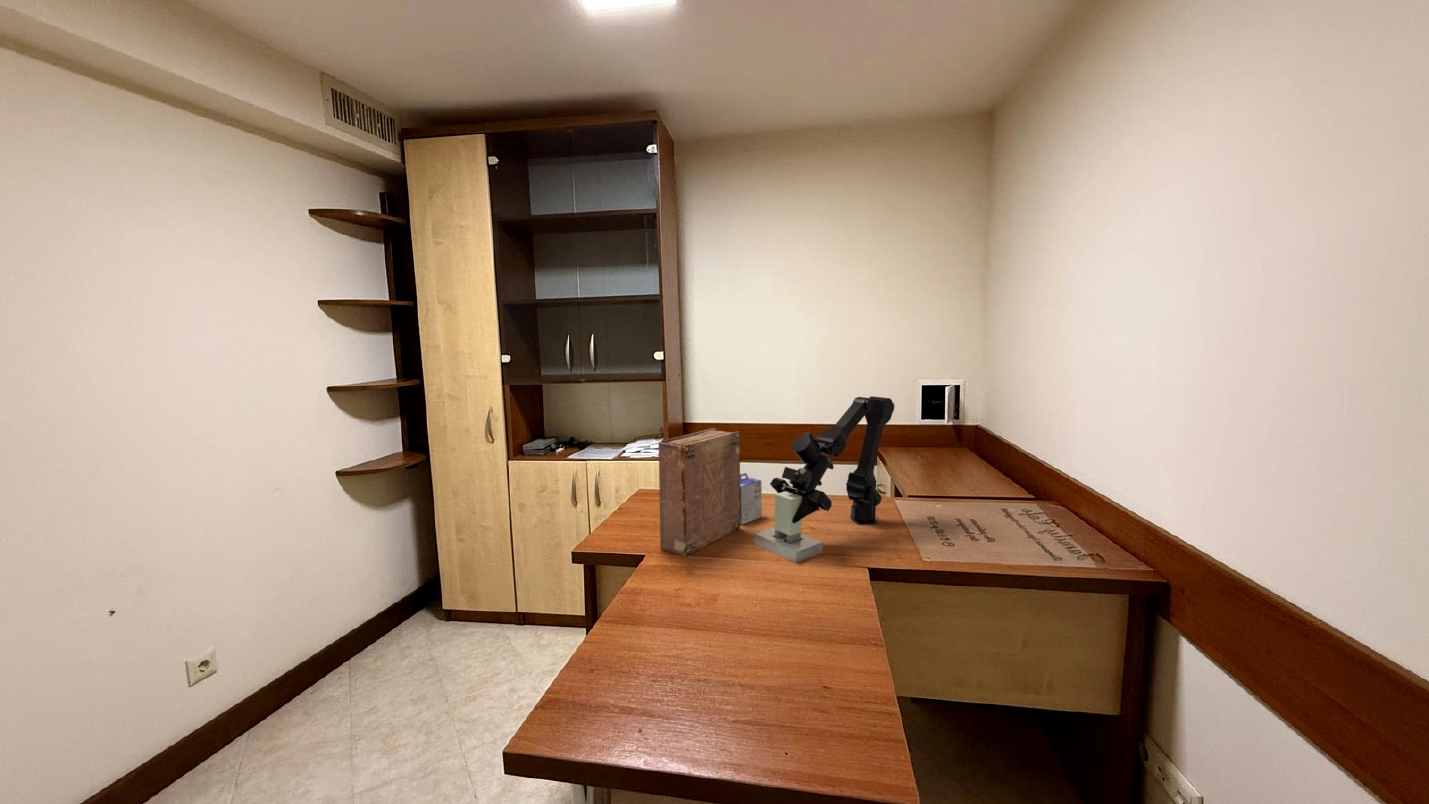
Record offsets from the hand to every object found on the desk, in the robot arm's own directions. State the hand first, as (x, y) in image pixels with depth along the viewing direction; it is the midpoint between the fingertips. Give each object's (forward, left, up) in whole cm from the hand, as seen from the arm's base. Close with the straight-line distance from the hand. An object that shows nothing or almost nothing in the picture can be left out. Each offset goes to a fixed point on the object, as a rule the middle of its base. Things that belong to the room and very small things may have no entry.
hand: (784, 519), depth 143 cm
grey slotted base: (-1, -1, -9) cm, 9 cm away
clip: (-1, -1, -7) cm, 7 cm away
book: (+21, -12, -9) cm, 25 cm away
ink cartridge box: (+5, -25, -9) cm, 27 cm away
